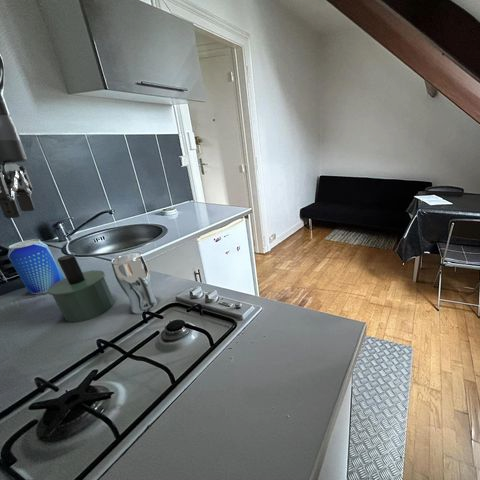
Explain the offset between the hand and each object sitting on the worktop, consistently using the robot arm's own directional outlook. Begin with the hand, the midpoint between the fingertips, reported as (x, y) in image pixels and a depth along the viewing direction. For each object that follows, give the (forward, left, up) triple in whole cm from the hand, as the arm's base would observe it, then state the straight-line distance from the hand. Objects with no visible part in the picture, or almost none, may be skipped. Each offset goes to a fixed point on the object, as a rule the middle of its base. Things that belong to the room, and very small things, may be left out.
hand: (21, 214), depth 60 cm
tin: (+4, -1, -28) cm, 28 cm away
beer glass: (+18, -7, -28) cm, 34 cm away
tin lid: (+4, -1, -19) cm, 20 cm away
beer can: (-13, +19, -28) cm, 36 cm away
